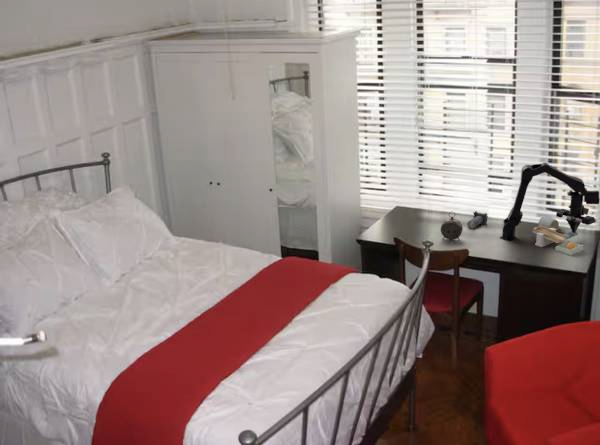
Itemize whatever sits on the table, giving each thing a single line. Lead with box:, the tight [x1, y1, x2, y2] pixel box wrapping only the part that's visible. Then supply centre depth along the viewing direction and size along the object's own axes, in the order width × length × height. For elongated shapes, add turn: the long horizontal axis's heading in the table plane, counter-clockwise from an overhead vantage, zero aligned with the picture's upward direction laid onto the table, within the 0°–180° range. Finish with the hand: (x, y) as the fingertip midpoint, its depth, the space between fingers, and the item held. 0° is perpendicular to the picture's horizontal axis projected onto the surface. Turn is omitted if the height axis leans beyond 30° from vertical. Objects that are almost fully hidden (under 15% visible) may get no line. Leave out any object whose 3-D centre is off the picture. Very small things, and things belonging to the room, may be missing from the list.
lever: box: [531, 225, 579, 244], centre depth 359 cm, size 18×15×5 cm
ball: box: [567, 241, 576, 250], centre depth 346 cm, size 4×4×4 cm
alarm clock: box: [440, 211, 464, 242], centre depth 365 cm, size 11×5×16 cm, turn 71°
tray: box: [554, 240, 584, 257], centre depth 347 cm, size 10×9×3 cm
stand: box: [534, 228, 557, 248], centre depth 357 cm, size 12×4×6 cm, turn 126°
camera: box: [466, 211, 489, 230], centre depth 385 cm, size 9×8×12 cm
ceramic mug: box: [538, 215, 560, 231], centre depth 374 cm, size 11×8×8 cm
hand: (573, 232), depth 358 cm, fingers closed, pressing on lever
